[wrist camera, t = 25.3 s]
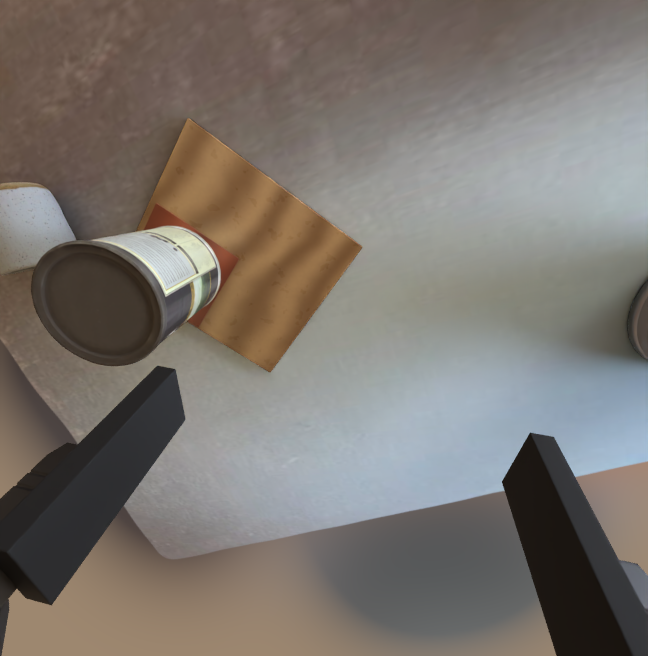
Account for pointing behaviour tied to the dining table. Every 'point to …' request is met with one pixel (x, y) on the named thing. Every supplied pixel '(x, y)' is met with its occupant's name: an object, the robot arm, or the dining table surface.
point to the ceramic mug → (29, 226)
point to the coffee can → (123, 291)
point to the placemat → (249, 245)
